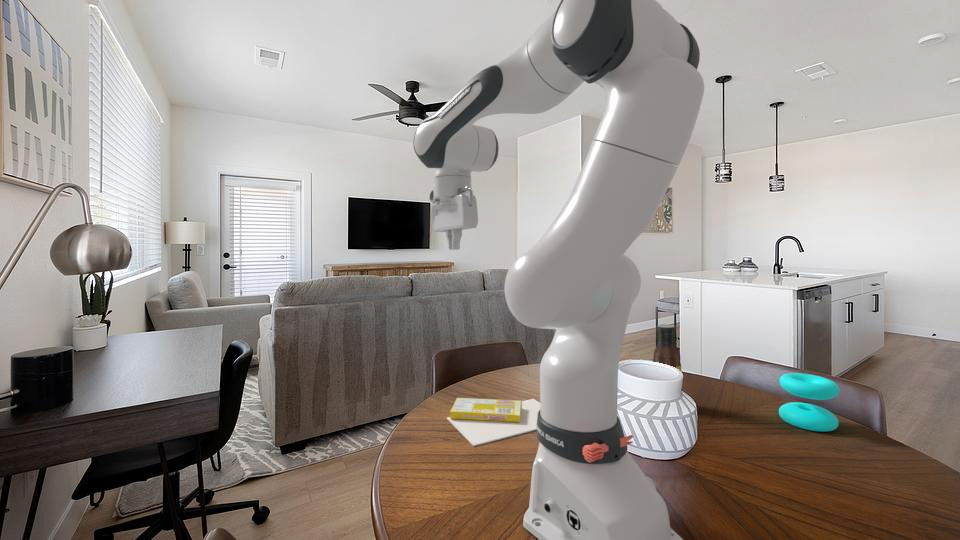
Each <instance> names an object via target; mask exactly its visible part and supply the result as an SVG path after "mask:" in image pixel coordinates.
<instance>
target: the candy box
mask: <svg viewBox="0 0 960 540" xmlns="http://www.w3.org/2000/svg"><path fill="white" fill-rule="evenodd" d="M522 401H523V400H514V399H513V400H512V399H495V398H492V399H491V398H472V397H470V398H469V397H456V398H455V401H454V403H453V405H452V407H451V409H450V411H449V417H450V419H470V420H489V421H507V422H520V420H521V410H522Z"/></svg>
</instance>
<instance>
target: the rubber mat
mask: <svg viewBox="0 0 960 540" xmlns="http://www.w3.org/2000/svg"><path fill="white" fill-rule="evenodd" d="M521 401H522V410H521V420H520V422H507V421H489V420H470V419H450V416H447V417H446V420H447V421H448V422H449V423H450V424H451V425H452V426H453V427H454V428H455V429H456V430H457V431H458V432H459V433H460V434H461V436H463V437H464V438H465V439H466V440H467V441H468V442H469V444H470V445H471V446H472V447H477V446H481V445H485V444H488V443H492V442H497V441H500V440H504V439H507V438H511V437H515V436H519V435H524V434H528V433H531V432H535V431H537V418H538V412H539V410H540V401H538V400H536V399H535V398H530V399H526V400H525V399H524V400H521Z"/></svg>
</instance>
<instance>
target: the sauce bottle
mask: <svg viewBox="0 0 960 540" xmlns="http://www.w3.org/2000/svg"><path fill="white" fill-rule="evenodd" d="M656 331H657V344H656V347H655V349H654V352H653V361H652V363H653V362H659V363H663V364H667V365H670V366H673V367H675V368H677V369H679V370H680V371H681V372H682V364H681V363H682V362H681V352H680V350H679V349H678V347H677V345H676V339H675V336H676V335H675V333H676V326H675V325H673V324H665V323H663V324H662V323H661V324H658V325H657V326H656Z"/></svg>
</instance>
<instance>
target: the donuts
mask: <svg viewBox="0 0 960 540" xmlns="http://www.w3.org/2000/svg"><path fill="white" fill-rule="evenodd" d="M779 385H780V387H781V388H782V389H783V390H785V391H786V392H788V393H790V394H791V395H794V396H797V397H799V398H805V399H810V400H818V401H819V400H820V401H824V400H825V401H826V400H831V399H835V398H836V397H837V396H839V394H840V387H839V385H838V384H837V383H836V382H835V381H833V380H831V379H829V378H826V377H823V376H819V375H814V374H809V373H799V372H792V373H791V372H790V373H789V372H788V373H785V374H783V375H781V376H780V377H779ZM778 415H779V417H780V418H781V419H782V420H783V421H784V422H786V423H787V424H790V425H791V426H794V427H796V428H799V429H803V430H807V431H813V432H819V433H820V432H823V433H824V432H826V433H827V432H832V431H835V430H836V429H837V428H838V427H839V420H838V417H837V416H836V415H835V414H834V413H833V412H831V411H830V410H828V409H826V408H824V407H822V406H819V405H817V404H812V403H805V402H798V401H797V402H796V401H794V402H787V403H784V404H783V405H781V406H780V407H779V409H778Z"/></svg>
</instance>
